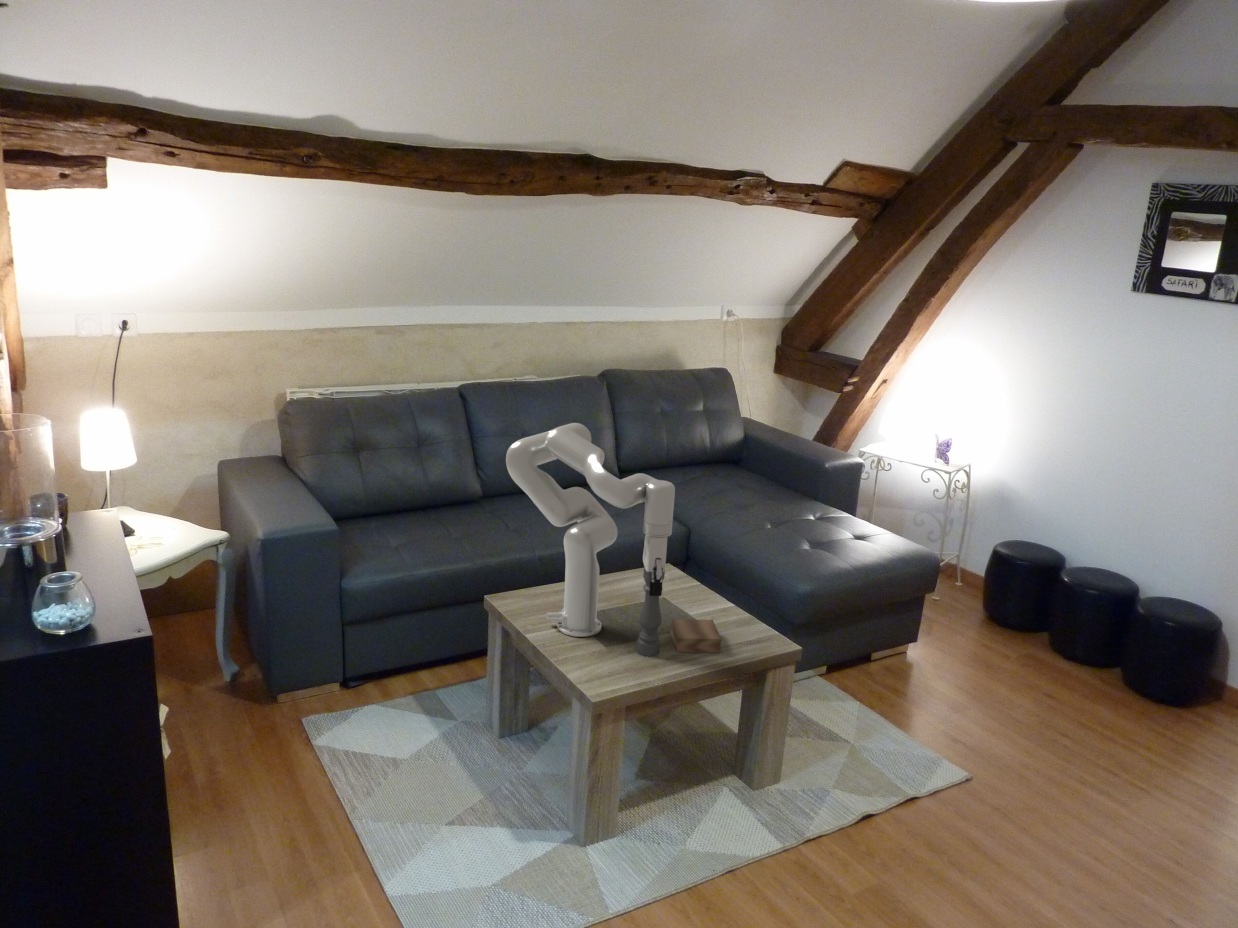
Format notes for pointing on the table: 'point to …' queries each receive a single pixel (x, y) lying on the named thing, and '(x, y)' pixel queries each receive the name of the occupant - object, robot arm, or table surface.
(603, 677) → the table surface
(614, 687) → the table surface
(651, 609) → the candle holder
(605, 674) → the table surface
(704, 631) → the walnut plinth
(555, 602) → the table surface
